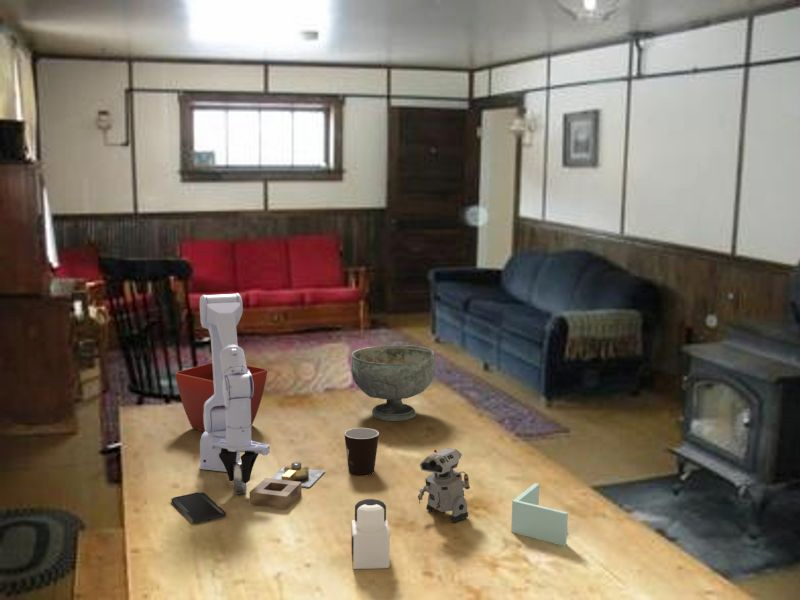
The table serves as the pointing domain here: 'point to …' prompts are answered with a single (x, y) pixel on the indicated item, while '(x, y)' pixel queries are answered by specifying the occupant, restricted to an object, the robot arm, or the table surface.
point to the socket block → (275, 493)
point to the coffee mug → (361, 450)
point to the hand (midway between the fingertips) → (239, 480)
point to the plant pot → (211, 391)
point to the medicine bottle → (370, 536)
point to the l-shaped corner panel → (538, 518)
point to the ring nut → (295, 472)
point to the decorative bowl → (393, 376)
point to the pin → (238, 478)
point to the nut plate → (306, 481)
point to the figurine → (445, 484)
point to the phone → (198, 508)
